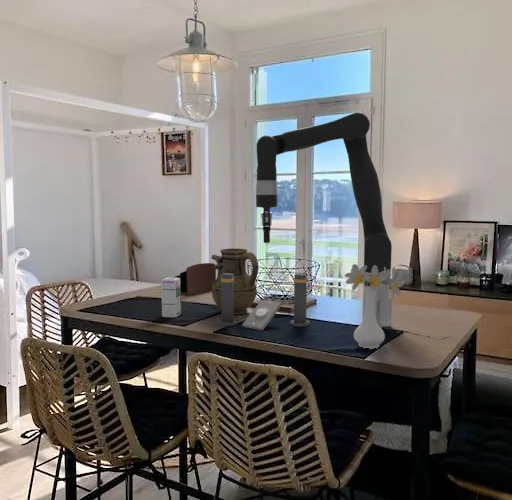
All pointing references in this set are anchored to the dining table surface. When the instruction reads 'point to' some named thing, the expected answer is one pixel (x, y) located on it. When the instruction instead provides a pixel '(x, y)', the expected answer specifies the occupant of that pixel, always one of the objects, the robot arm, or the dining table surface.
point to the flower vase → (371, 302)
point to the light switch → (262, 314)
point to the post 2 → (300, 301)
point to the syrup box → (171, 297)
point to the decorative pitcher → (236, 277)
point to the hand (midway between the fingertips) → (266, 242)
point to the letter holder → (197, 279)
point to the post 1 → (227, 300)
